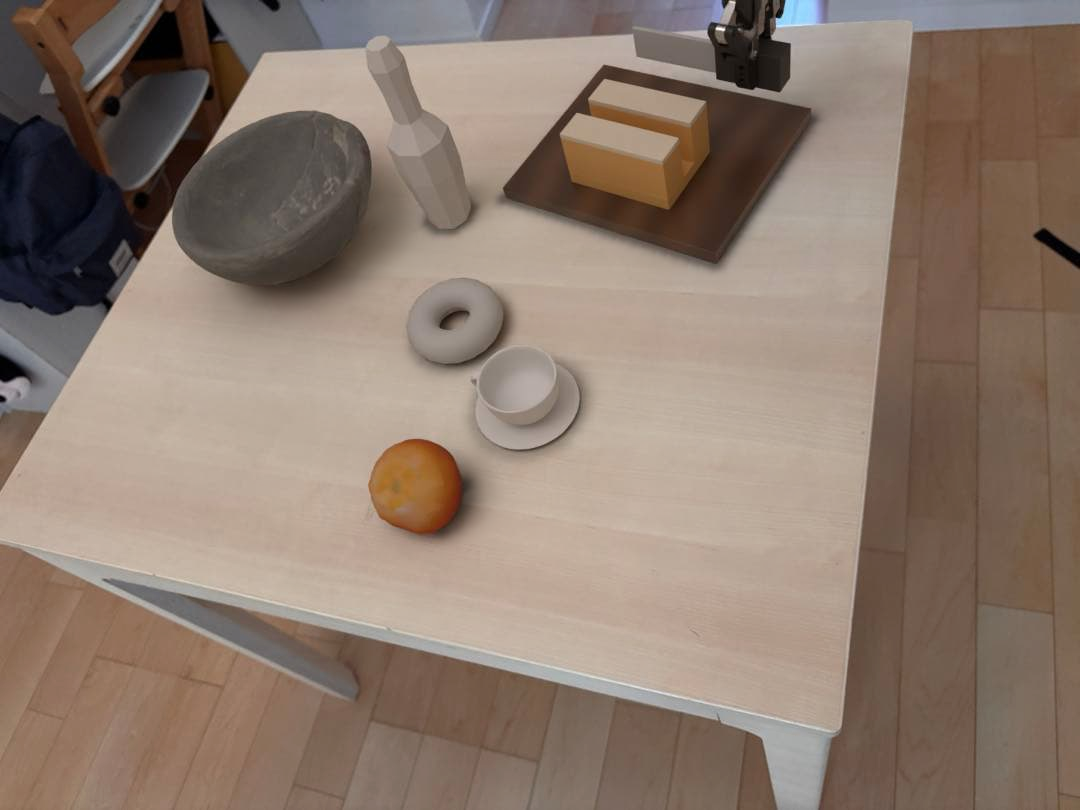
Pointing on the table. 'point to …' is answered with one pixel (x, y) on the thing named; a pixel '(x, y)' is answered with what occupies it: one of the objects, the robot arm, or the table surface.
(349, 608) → the table surface
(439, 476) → the fruit
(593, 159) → the orange u-shaped channel
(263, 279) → the bowl
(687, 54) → the kitchen blade
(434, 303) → the donut
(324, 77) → the table surface
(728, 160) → the board
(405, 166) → the faceted bottle
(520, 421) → the teacup
